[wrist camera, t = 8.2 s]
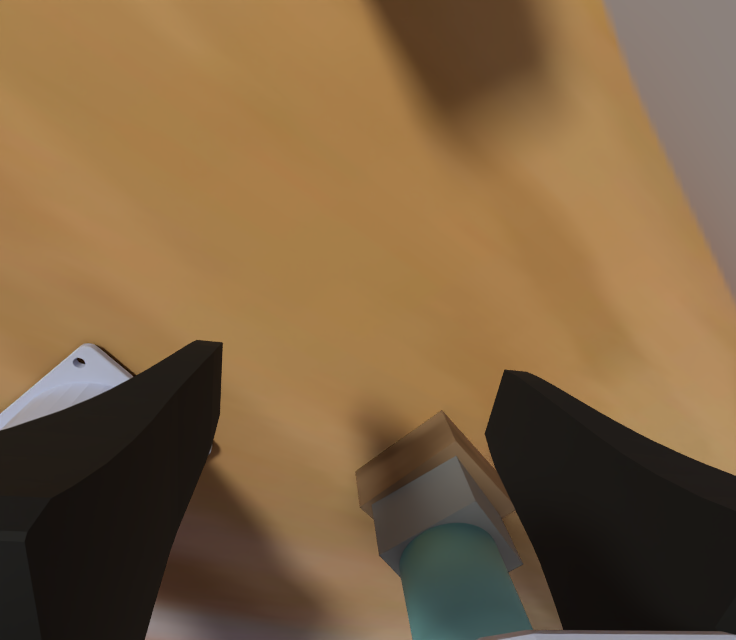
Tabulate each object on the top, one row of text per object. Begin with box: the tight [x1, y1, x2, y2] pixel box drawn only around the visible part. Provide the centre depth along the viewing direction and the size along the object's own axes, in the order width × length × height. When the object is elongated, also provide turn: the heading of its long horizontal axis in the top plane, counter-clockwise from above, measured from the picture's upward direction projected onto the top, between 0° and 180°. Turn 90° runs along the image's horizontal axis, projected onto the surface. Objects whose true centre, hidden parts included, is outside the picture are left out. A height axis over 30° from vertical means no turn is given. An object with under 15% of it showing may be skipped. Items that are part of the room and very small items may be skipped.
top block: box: [372, 456, 523, 578], centre depth 23 cm, size 5×5×3 cm
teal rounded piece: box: [399, 523, 533, 640], centre depth 19 cm, size 5×5×4 cm
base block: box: [356, 410, 515, 519], centre depth 25 cm, size 6×6×3 cm
